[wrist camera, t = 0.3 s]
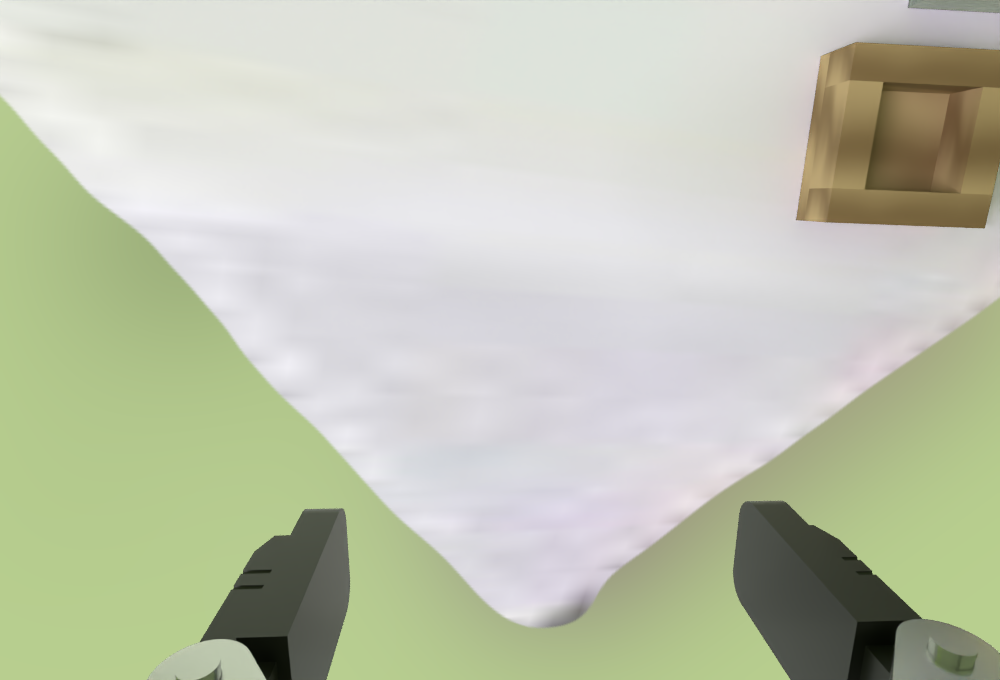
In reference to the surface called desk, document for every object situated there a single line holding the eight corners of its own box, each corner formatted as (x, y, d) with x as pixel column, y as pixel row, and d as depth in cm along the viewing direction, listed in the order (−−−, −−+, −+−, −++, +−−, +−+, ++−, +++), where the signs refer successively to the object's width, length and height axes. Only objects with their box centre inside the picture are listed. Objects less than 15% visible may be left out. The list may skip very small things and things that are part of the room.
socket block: (821, 56, 37) (856, 42, 34) (974, 64, 38) (1024, 51, 34) (796, 219, 40) (826, 222, 36) (941, 225, 40) (984, 228, 37)
